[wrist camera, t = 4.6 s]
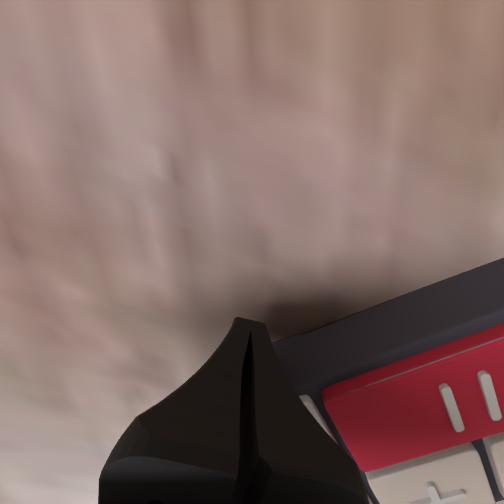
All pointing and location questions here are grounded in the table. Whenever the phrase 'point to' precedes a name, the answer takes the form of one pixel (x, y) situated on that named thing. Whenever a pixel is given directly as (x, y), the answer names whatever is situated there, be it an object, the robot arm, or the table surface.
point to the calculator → (414, 390)
